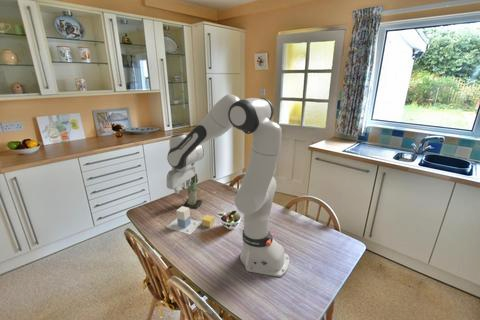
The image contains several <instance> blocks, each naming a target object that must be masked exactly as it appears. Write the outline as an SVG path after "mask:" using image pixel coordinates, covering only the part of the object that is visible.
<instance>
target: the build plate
mask: <svg viewBox="0 0 480 320" xmlns="http://www.w3.org/2000/svg"><path fill="white" fill-rule="evenodd" d="M190 220H191V224H190V225H189V226H187V227H186V228H183V227H179V226H178V221H177V218H175V219H174V220H173V221H172V222H170V223H169V224H168V225H166V228H167V229H170V230H172V231H177V232H180V233H184V234H187V235H191V234H193V232H194V231H196V229H198V228H199V227H200V226H201V225H202V221H200V220H195V219H192V218H190Z"/></svg>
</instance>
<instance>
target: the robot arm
mask: <svg viewBox="0 0 480 320" xmlns="http://www.w3.org/2000/svg"><path fill="white" fill-rule="evenodd" d="M274 113H275V108H274V105H273V103H272V102H271V101H270V100H269V99H267V98H264V97H249V98H244V99H240V97H238V96H237V95H235V94H232V93H229V94H226V95H224V96H223V97H221V99H219V100H218V101H217V102H216V103H215V104H214V105H213V106H212V108H211V109H210V110H209V112H207V114H206V115H205V116H204V117H203V118H202V120H201V121H200V122H198V124H197V125H196V126H195V127H194V128H193V129H192V130H191V131H190V132H189V133H188V134H186V133H179V134H178V133H177V134H174V135H172V136H170V137H169V150H168V153H167V163H168V164H169V165H170V166H171V170H169V171H168V173H167V174H166V188H167V189H169V190H174V194H175V195H179V194H180V189H178V188H179V187H180V186H181V185H182V184H185V186H186V187H187V188H188V187H189V186H190V182H191V178H192V177H193V176H195V174H197V173H196V171H197V170H196V165H195V164H196V163H197V162H199V161H201V160H202V159H203V158H204V155H205V150H204V149H205V148H203V144H205V143H206V142H208V141H209V142H210V140H213V139H216V138H219V137H221V136H222V135H224V134H225V133H228V131H229V130H230V129H231V128H232V127H234V128H236V129H237V130H239V131H242V132H243V133H245V134H247V135H250V134H252V141H251V147H250V154H249V160H248V164H247V167H246V170H245V173H244V176H243V178H242V181H241V184H240V187H239V189H238V191H237V193H236V195H235V197H234V205H235V207H236V209H237V211H239V212H240V213H241V214H243V230H242V234H241V235H242V247H241V248H242V249H241V252H240V255H239V258H240V259H239V260H240V261H241V263H242V264H243V265H244V268H245V271H246V272H250V273H255V274H260V275H266V276H271V277H273V276H274V277H278V278H279V277H282V276H284V275H285V274H286V273H287V271H288V269H289V266H290V257H289V254H288V253H286V252H285V249H284V246H283V245H281V244H280V243H279V242H277V240H275V239H274V232H272V233H271V232H270V216H271V210H272V207H273V201H274V197H275V192H276V189H277V183H278V182H277V180H276V179H275V176H274V174H275V173H276V169H277V165H278V161H279V157H280V151H281V147H282V138H283V136H282V135H283V132H282V127H281V125H280V124H278V123H277V122H275V121H272V119H273V116H274ZM186 181H187V183H186Z"/></svg>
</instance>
